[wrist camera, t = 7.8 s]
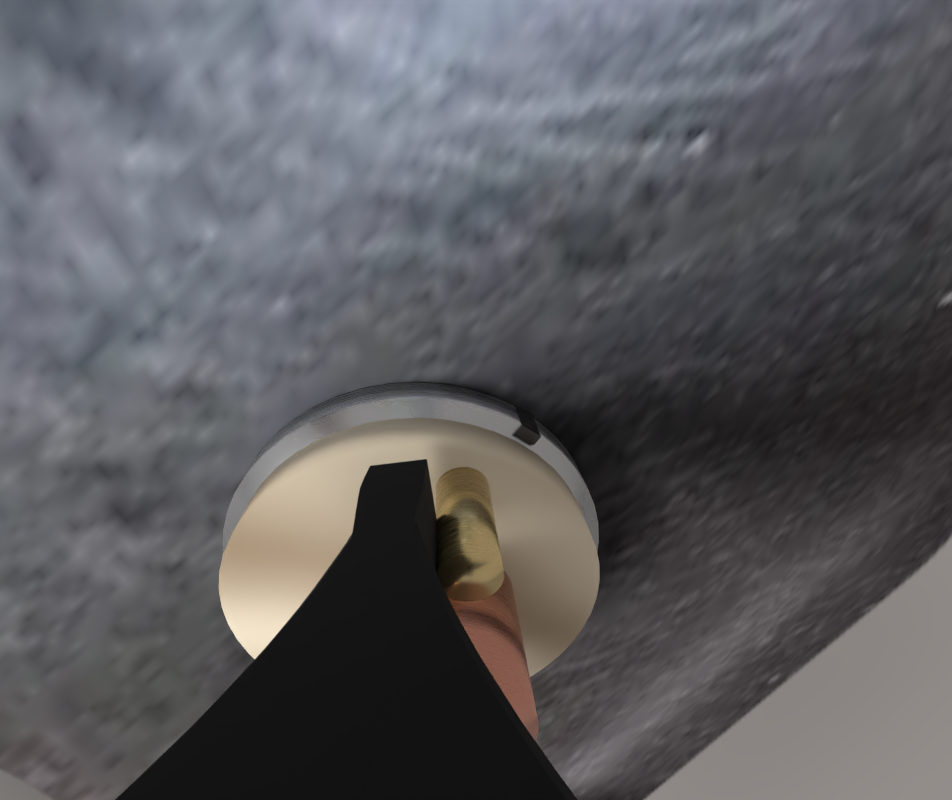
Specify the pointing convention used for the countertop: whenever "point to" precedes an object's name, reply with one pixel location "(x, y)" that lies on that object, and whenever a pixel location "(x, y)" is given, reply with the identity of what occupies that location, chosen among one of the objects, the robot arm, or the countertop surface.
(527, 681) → the cover
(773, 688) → the countertop surface
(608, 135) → the countertop surface
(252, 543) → the turntable
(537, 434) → the base
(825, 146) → the countertop surface
